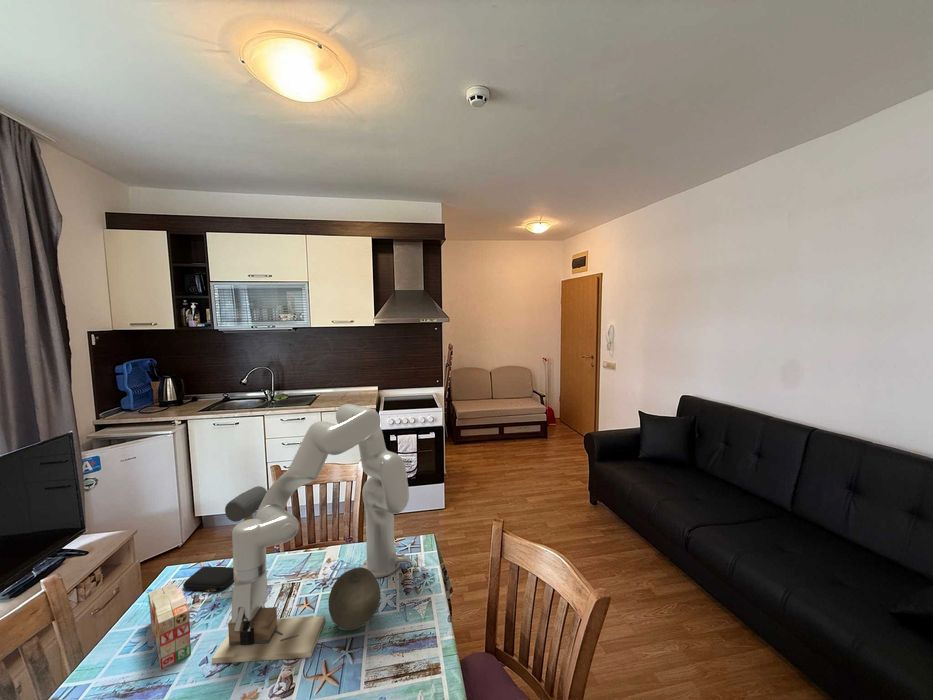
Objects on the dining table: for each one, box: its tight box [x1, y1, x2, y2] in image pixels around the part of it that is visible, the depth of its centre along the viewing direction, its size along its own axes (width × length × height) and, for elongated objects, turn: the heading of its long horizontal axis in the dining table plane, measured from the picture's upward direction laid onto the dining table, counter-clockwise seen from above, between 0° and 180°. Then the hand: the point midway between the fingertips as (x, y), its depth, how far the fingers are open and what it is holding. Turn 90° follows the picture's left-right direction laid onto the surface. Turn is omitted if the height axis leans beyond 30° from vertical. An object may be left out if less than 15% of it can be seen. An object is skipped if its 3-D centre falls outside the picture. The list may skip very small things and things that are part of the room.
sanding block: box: [227, 606, 278, 646], centre depth 101 cm, size 10×5×6 cm, turn 94°
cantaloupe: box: [327, 566, 382, 631], centre depth 107 cm, size 14×14×15 cm
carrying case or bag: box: [182, 566, 235, 593], centre depth 125 cm, size 11×3×15 cm
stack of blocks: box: [147, 582, 192, 670], centre depth 103 cm, size 21×6×12 cm, turn 45°
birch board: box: [211, 615, 326, 665], centre depth 102 cm, size 24×12×2 cm, turn 94°
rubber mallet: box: [224, 485, 268, 523], centre depth 126 cm, size 12×8×30 cm, turn 170°
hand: (252, 634), depth 101 cm, fingers closed on sanding block, 5 cm apart
